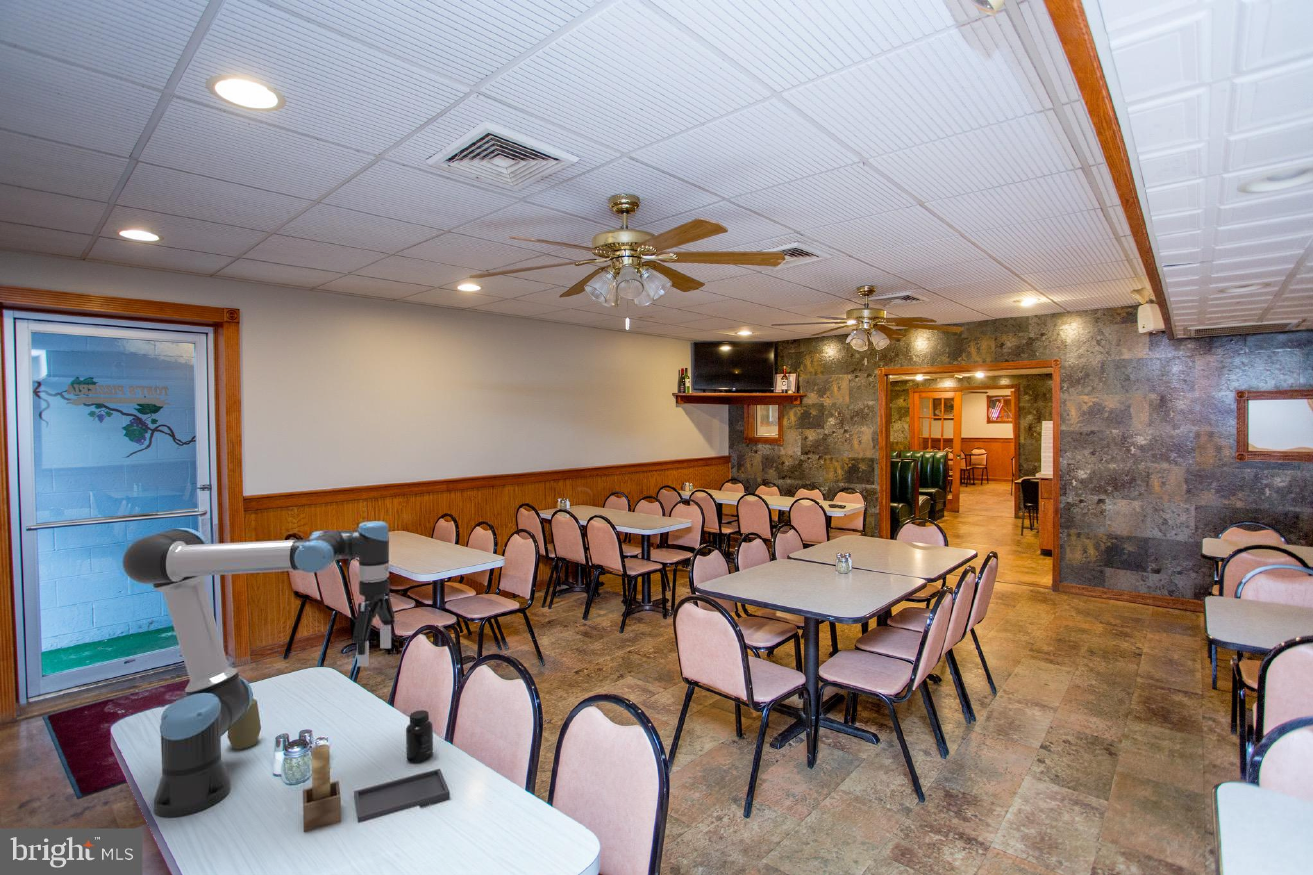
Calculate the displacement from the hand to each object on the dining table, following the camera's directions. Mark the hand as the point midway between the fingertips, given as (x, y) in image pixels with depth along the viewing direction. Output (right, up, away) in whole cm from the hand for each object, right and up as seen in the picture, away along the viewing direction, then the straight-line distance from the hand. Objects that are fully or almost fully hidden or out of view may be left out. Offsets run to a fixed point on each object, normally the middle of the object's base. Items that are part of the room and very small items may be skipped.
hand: (374, 656), depth 175 cm
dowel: (+1, -27, -29) cm, 39 cm away
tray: (+16, -27, -20) cm, 37 cm away
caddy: (+1, -28, -29) cm, 40 cm away
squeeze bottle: (-40, -28, +7) cm, 49 cm away
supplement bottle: (+13, -27, -1) cm, 30 cm away
